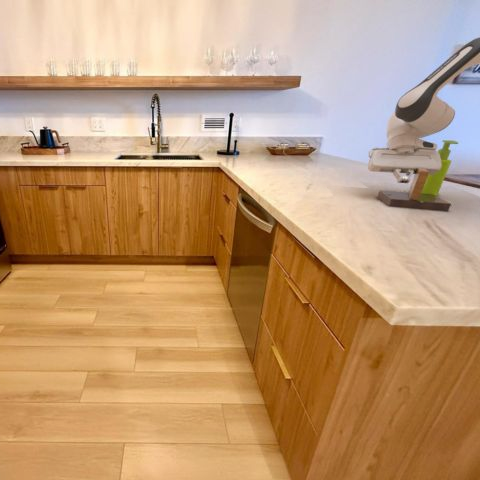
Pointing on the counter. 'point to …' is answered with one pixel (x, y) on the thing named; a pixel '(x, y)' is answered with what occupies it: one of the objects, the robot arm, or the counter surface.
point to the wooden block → (418, 183)
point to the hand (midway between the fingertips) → (403, 182)
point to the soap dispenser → (436, 180)
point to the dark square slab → (413, 201)
